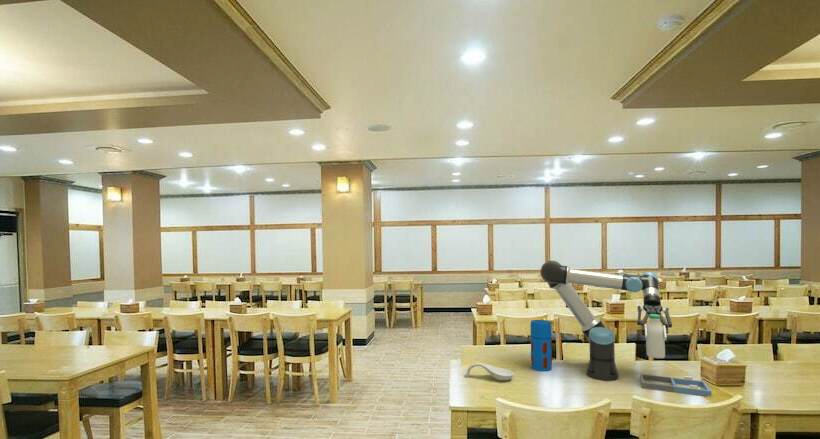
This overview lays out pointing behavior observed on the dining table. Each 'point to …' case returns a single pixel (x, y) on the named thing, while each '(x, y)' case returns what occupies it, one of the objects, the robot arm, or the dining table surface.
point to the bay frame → (687, 381)
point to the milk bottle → (655, 338)
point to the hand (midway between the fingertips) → (655, 337)
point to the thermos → (541, 345)
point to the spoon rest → (493, 371)
